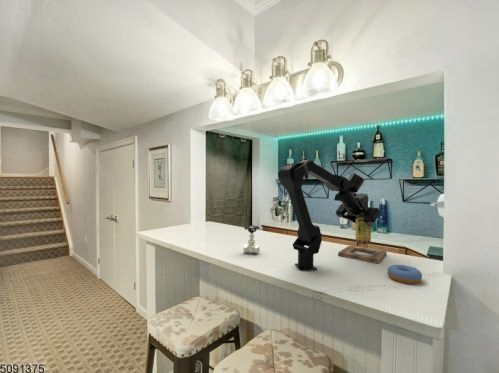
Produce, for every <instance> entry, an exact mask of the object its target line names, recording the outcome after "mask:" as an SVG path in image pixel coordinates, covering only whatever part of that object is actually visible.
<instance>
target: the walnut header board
mask: <svg viewBox="0 0 499 373" xmlns="http://www.w3.org/2000/svg"><path fill="white" fill-rule="evenodd" d="M355 252H358V253H355ZM361 253H363V254H361ZM366 254H370V255H366ZM337 256H338V257H343V258H347V259H353V260H356V261H357V260H358V261H364V262H369V263H373V264H380V263H381V261H382V260H383V259H384V258H385V257H386V256H387V250H380V249H375V248H370V247H369V248H368V247H362V246H357V245H350V244H349V245H347V247H345V248H343V249H341V250H340V251H339V252H337Z"/></svg>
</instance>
